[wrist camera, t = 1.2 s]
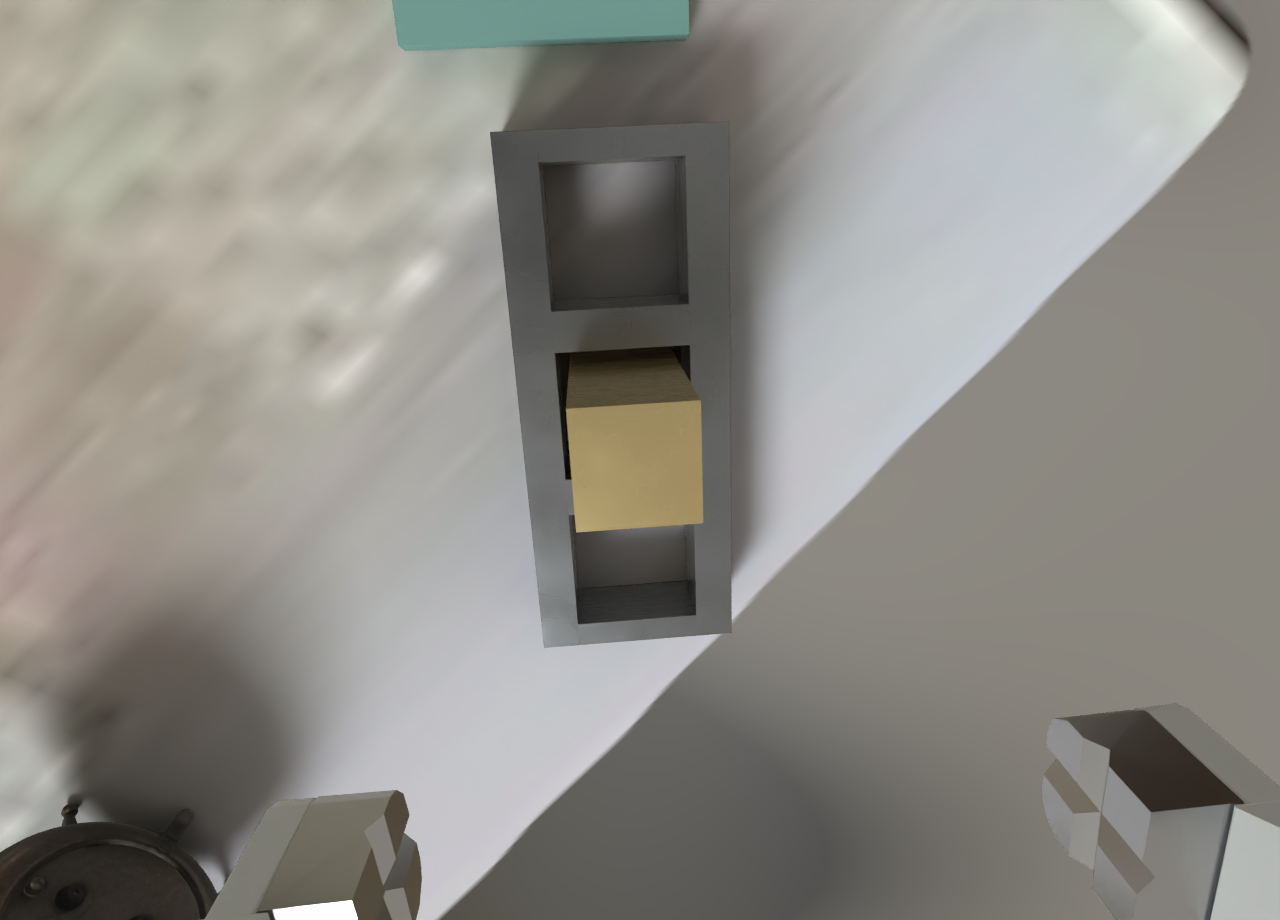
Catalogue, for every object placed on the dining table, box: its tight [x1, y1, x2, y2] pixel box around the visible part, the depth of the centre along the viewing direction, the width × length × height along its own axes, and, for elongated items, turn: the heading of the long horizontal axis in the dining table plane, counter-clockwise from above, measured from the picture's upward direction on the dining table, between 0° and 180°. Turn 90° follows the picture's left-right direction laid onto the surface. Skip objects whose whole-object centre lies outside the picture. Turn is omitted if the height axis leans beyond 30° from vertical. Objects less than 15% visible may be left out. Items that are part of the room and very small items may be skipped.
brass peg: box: [566, 346, 703, 533], centre depth 27 cm, size 4×4×9 cm
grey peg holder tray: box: [490, 122, 732, 648], centre depth 30 cm, size 8×20×3 cm, turn 3°
